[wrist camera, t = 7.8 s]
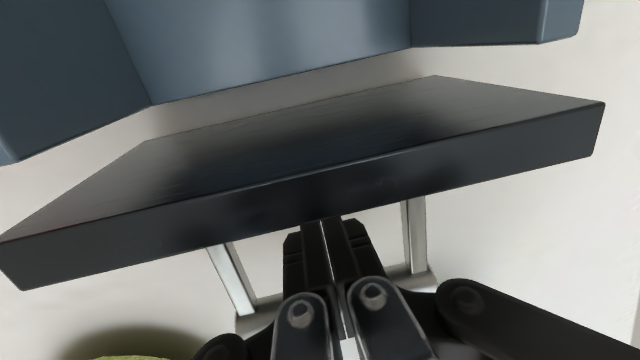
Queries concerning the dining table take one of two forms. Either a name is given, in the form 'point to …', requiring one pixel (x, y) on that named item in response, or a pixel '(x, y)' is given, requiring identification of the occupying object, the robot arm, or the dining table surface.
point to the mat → (129, 358)
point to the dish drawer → (263, 126)
